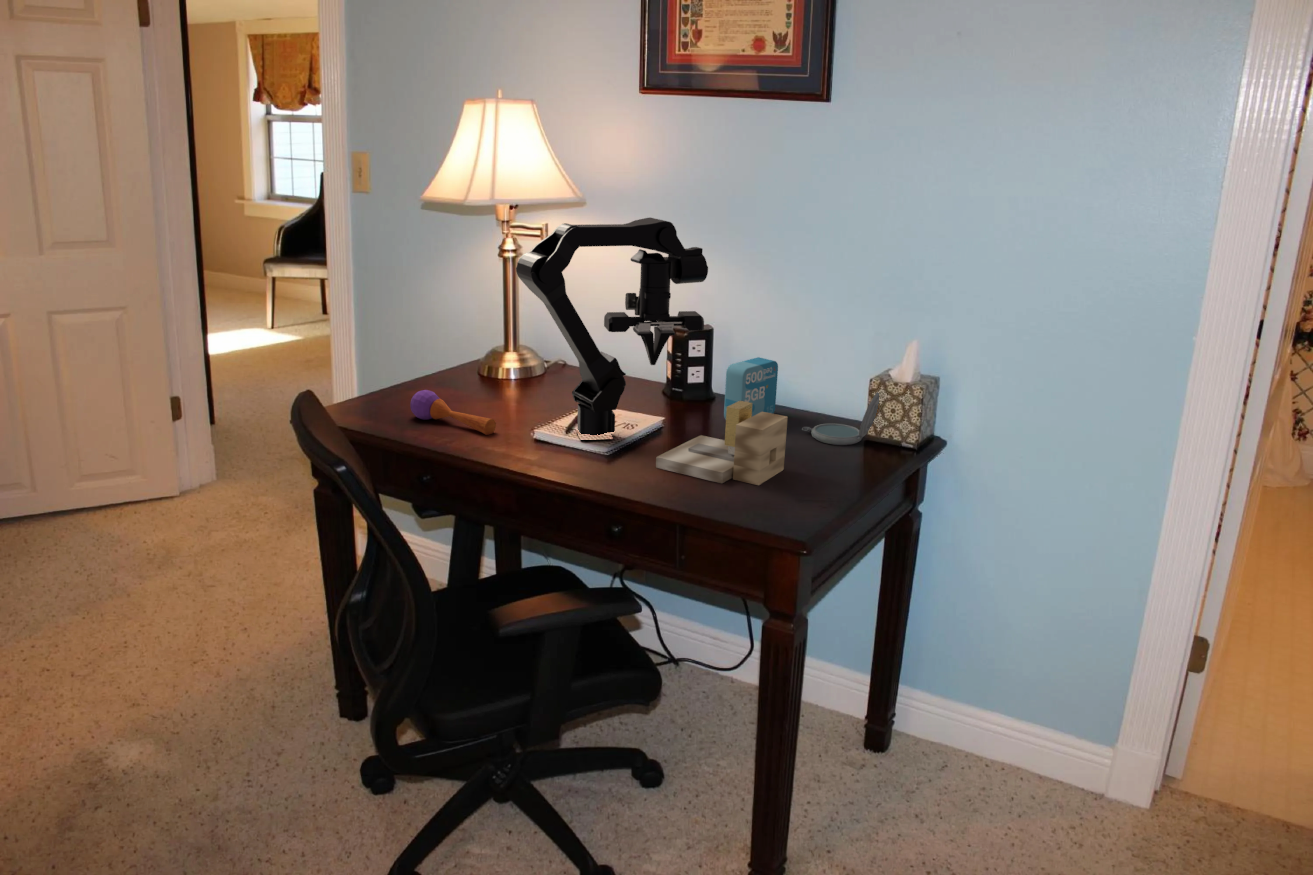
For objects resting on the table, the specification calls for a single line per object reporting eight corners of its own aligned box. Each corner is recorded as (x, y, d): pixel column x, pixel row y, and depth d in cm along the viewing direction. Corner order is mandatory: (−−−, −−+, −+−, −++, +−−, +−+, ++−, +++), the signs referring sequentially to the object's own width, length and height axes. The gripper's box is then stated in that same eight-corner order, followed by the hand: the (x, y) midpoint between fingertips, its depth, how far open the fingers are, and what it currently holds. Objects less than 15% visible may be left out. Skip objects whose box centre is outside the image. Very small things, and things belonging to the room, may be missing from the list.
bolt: (723, 455, 189) (726, 406, 186) (737, 448, 193) (740, 400, 190) (759, 463, 186) (762, 414, 183) (771, 456, 190) (775, 407, 187)
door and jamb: (655, 467, 191) (657, 414, 188) (700, 445, 204) (702, 394, 201) (750, 490, 182) (754, 434, 178) (790, 465, 195) (794, 412, 191)
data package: (740, 426, 216) (743, 369, 212) (722, 421, 219) (726, 365, 215) (775, 415, 225) (779, 359, 221) (757, 410, 228) (761, 355, 224)
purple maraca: (478, 419, 202) (402, 393, 212) (481, 447, 205) (405, 420, 215) (499, 407, 206) (423, 382, 216) (501, 434, 209) (426, 408, 219)
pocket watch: (872, 397, 200) (797, 385, 207) (867, 452, 203) (793, 439, 210) (887, 385, 208) (814, 374, 215) (882, 439, 212) (810, 426, 218)
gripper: (691, 278, 214) (688, 354, 219) (599, 278, 210) (598, 356, 215) (706, 288, 204) (702, 367, 208) (610, 288, 199) (608, 369, 204)
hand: (652, 364), depth 209 cm, fingers closed
